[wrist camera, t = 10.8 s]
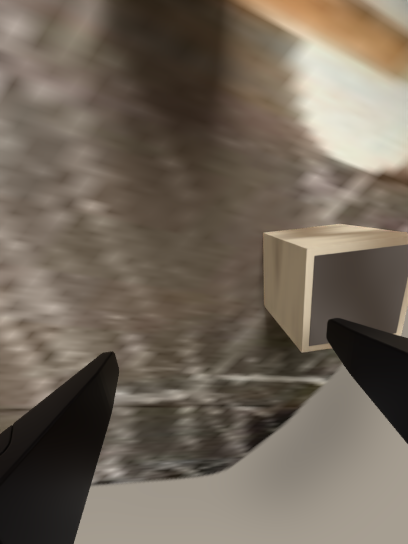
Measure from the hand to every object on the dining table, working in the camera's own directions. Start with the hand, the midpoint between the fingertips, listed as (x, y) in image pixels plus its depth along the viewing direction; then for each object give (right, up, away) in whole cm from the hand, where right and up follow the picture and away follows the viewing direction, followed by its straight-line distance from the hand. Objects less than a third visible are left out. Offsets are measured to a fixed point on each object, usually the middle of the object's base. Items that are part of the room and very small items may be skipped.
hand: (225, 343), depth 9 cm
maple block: (+7, +2, +3) cm, 8 cm away
